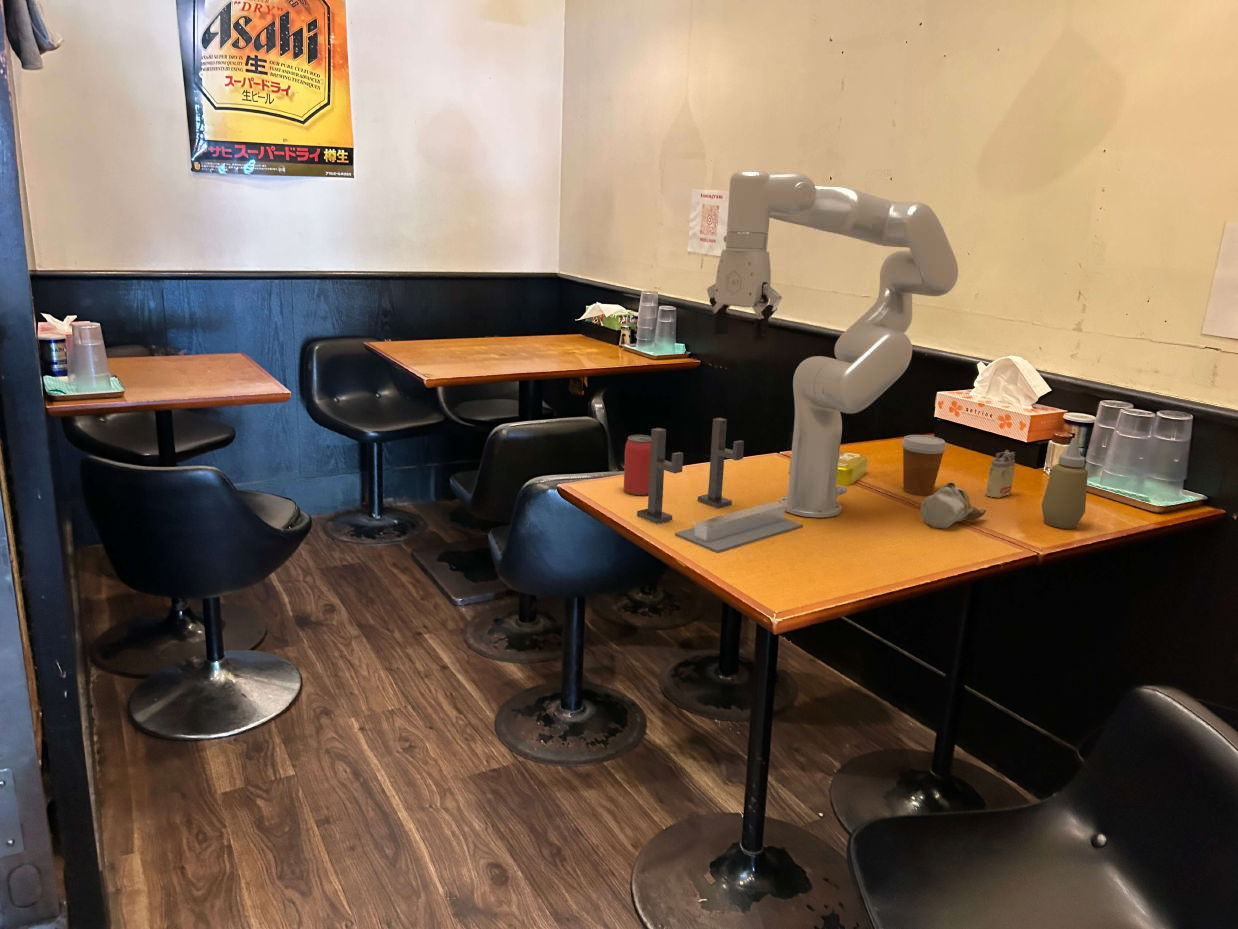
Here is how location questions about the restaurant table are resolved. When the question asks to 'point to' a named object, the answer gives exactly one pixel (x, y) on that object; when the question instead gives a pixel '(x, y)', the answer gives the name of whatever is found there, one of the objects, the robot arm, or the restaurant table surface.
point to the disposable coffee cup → (921, 463)
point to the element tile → (849, 468)
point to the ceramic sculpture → (948, 507)
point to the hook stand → (675, 466)
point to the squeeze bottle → (1066, 490)
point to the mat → (741, 535)
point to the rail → (739, 521)
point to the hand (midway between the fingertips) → (739, 337)
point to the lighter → (1001, 475)
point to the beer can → (637, 465)
